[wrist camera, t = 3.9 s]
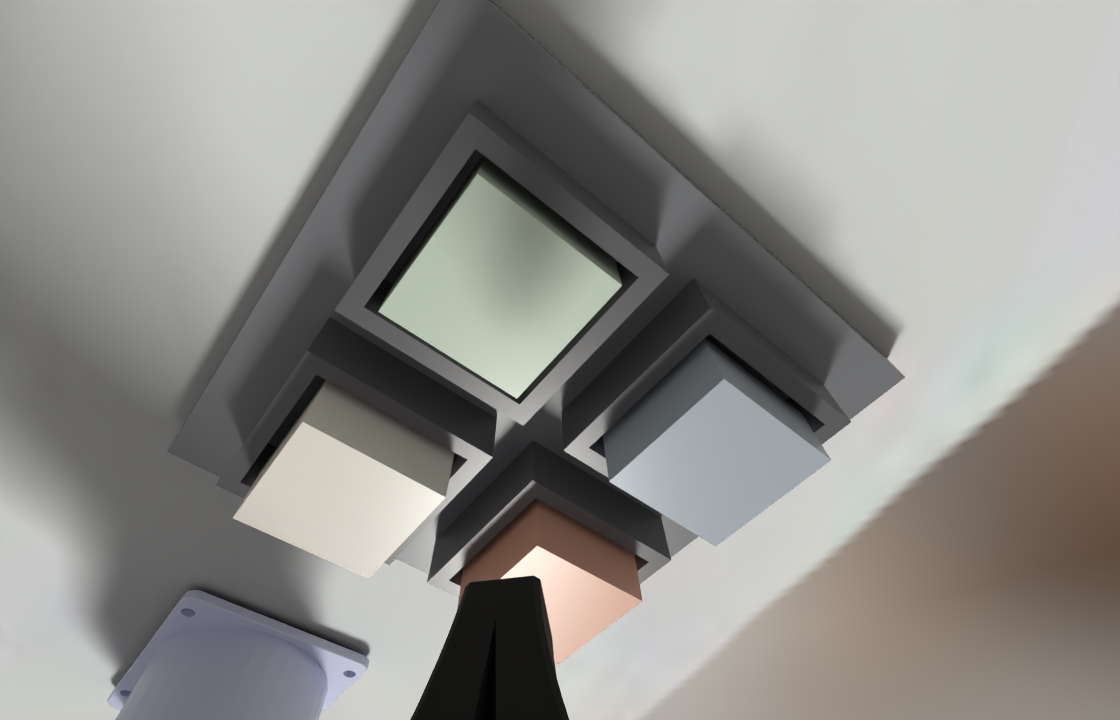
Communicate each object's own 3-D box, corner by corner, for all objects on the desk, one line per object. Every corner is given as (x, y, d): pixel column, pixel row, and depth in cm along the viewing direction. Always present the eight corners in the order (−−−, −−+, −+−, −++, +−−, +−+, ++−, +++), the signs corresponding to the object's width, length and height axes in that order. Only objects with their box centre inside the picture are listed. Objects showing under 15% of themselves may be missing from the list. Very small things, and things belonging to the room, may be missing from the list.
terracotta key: (557, 609, 21) (558, 664, 19) (463, 564, 20) (456, 618, 18) (633, 548, 19) (642, 601, 18) (537, 494, 18) (537, 546, 16)
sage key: (519, 358, 17) (516, 398, 15) (396, 277, 15) (378, 311, 14) (612, 253, 15) (622, 285, 13) (485, 152, 14) (477, 173, 12)
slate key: (699, 495, 18) (715, 546, 16) (602, 432, 17) (609, 481, 15) (801, 413, 17) (830, 460, 15) (703, 336, 15) (724, 378, 14)
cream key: (384, 525, 18) (368, 578, 17) (263, 466, 17) (232, 518, 15) (455, 447, 17) (445, 497, 15) (328, 375, 16) (302, 421, 14)
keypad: (565, 616, 25) (567, 682, 22) (184, 431, 19) (133, 493, 17) (888, 359, 18) (940, 413, 16) (462, -26, 13) (444, -32, 10)
